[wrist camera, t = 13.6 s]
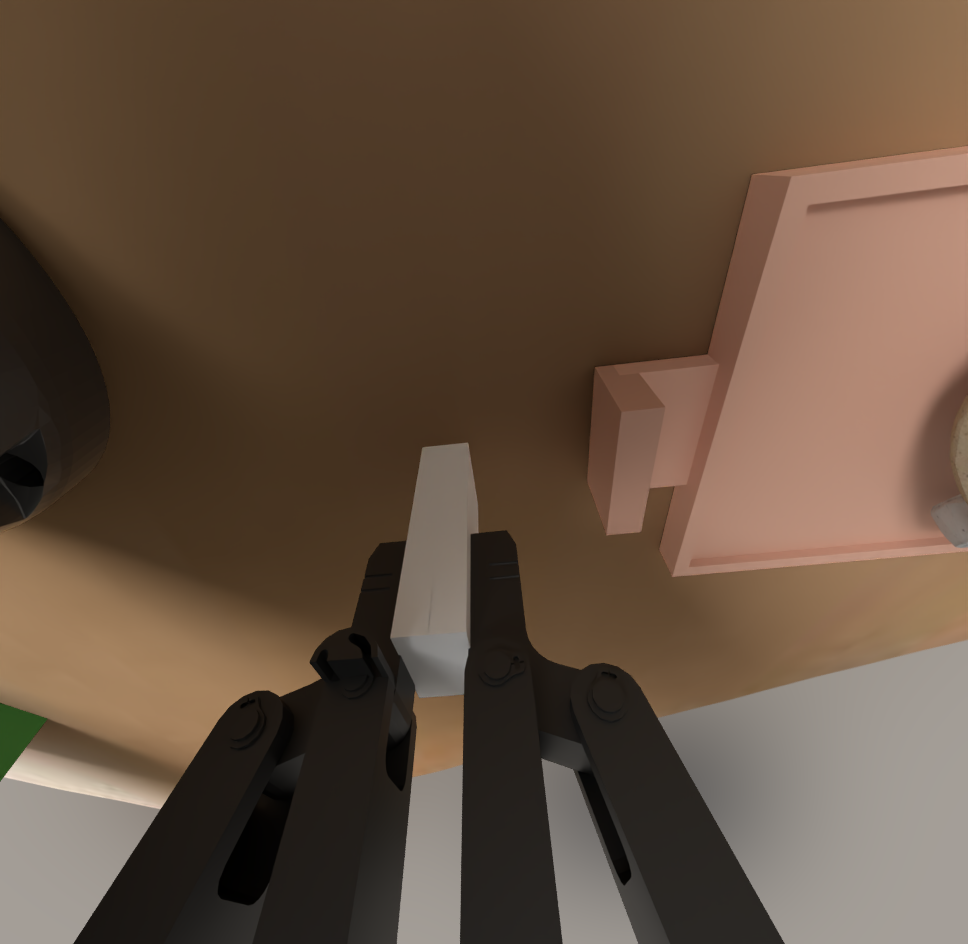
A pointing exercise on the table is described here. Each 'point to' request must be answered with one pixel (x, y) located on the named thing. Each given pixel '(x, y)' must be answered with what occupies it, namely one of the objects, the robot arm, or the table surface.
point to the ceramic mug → (964, 514)
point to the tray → (807, 379)
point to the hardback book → (15, 734)
